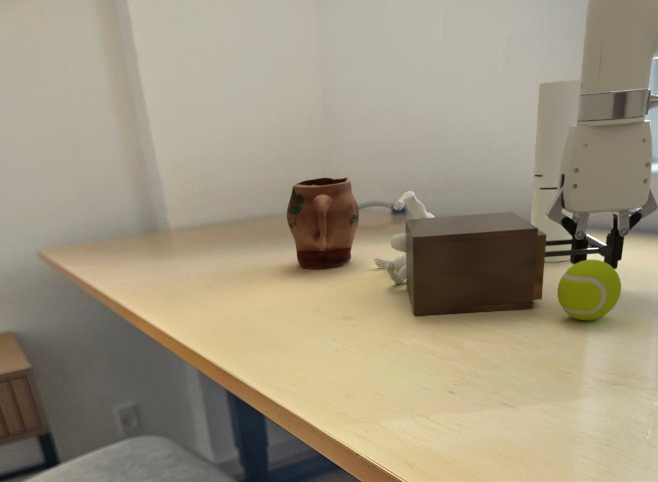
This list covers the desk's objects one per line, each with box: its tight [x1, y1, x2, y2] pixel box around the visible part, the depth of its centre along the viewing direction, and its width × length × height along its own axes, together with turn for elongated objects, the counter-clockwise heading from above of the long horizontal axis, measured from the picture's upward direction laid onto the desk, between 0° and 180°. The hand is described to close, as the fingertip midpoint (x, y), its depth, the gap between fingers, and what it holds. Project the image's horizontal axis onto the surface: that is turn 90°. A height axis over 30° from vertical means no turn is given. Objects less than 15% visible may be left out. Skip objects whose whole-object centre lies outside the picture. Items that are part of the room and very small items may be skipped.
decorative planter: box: [286, 177, 360, 270], centre depth 112 cm, size 20×12×14 cm, turn 5°
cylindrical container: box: [530, 79, 585, 263], centre depth 101 cm, size 7×7×25 cm
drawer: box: [533, 230, 612, 301], centre depth 86 cm, size 22×13×8 cm, turn 87°
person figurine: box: [373, 190, 435, 285], centre depth 101 cm, size 13×13×18 cm
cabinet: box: [405, 211, 538, 317], centre depth 86 cm, size 15×15×10 cm
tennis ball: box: [556, 259, 622, 321], centre depth 74 cm, size 7×7×7 cm
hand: (594, 266), depth 85 cm, fingers open, 3 cm apart
